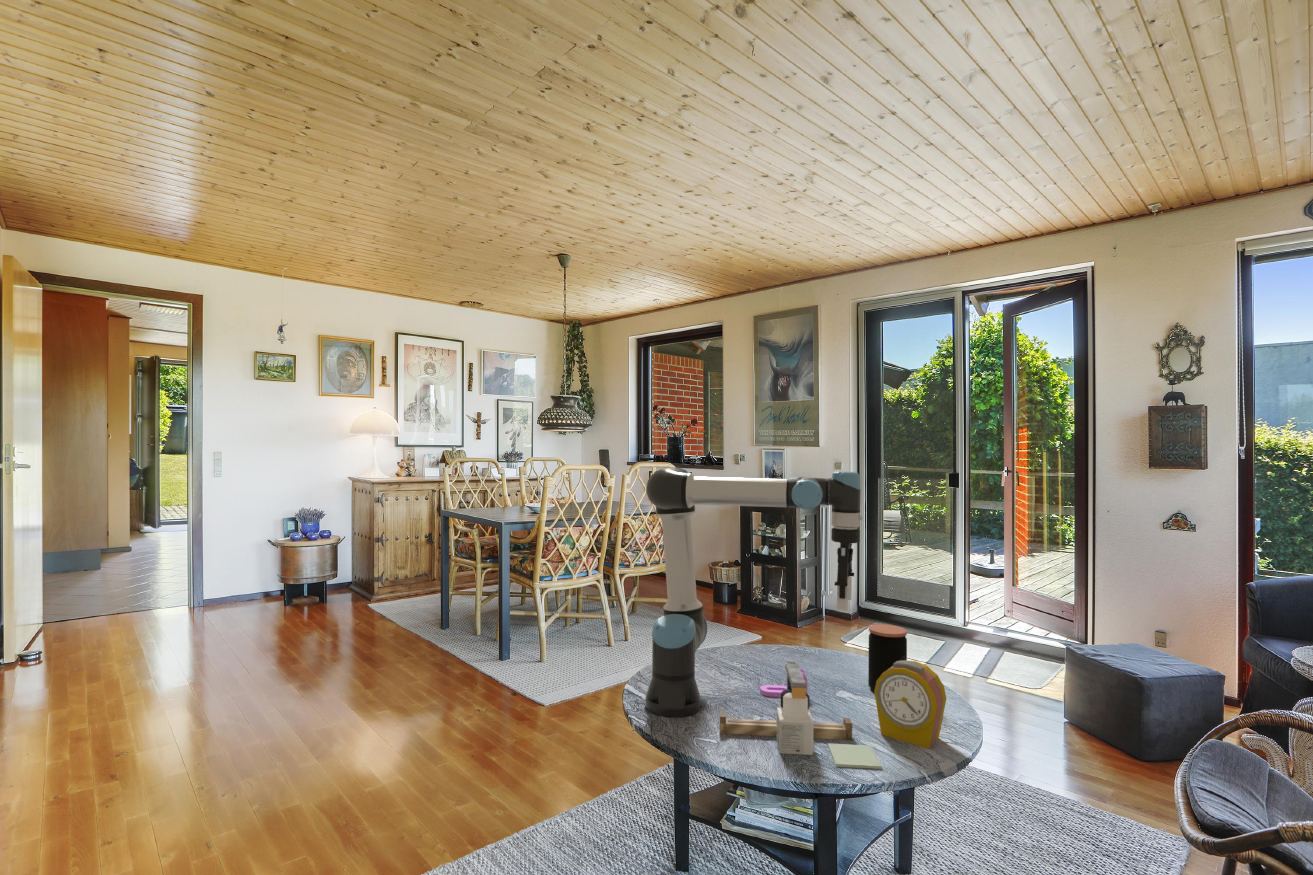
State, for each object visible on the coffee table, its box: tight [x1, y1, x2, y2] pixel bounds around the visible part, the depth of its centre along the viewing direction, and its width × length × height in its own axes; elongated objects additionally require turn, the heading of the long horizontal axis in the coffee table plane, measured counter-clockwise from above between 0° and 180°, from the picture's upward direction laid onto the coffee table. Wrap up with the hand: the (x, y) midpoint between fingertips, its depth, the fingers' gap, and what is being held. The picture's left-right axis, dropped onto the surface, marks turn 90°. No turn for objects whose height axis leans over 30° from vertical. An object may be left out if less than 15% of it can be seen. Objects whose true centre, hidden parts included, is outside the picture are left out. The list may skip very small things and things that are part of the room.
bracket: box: [759, 666, 808, 698], centre depth 184 cm, size 13×6×7 cm, turn 85°
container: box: [776, 689, 814, 756], centre depth 151 cm, size 8×8×13 cm
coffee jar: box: [867, 623, 908, 693], centre depth 188 cm, size 11×11×18 cm
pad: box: [827, 743, 883, 770], centre depth 146 cm, size 10×10×1 cm
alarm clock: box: [873, 660, 947, 749], centre depth 157 cm, size 15×8×18 cm, turn 50°
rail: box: [719, 711, 853, 741], centre depth 158 cm, size 32×3×4 cm, turn 85°
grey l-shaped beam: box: [784, 660, 806, 699], centre depth 151 cm, size 3×15×15 cm, turn 175°
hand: (844, 604), depth 176 cm, fingers open, 13 cm apart
